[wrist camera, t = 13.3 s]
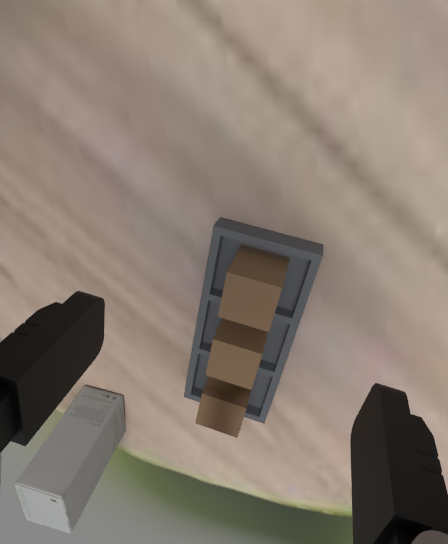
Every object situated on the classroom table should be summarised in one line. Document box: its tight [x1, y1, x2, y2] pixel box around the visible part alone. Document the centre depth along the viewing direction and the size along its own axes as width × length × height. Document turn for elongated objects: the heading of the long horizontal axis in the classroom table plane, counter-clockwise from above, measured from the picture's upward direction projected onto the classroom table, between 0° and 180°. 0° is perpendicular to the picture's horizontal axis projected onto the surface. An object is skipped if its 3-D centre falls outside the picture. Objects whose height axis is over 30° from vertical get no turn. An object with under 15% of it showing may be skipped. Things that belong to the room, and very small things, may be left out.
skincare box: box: [14, 386, 125, 533], centre depth 53 cm, size 8×7×16 cm
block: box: [196, 376, 251, 437], centre depth 46 cm, size 5×5×6 cm
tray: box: [184, 217, 323, 423], centre depth 43 cm, size 11×24×7 cm, turn 169°
